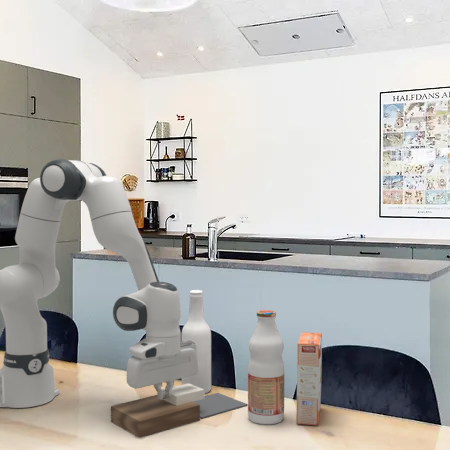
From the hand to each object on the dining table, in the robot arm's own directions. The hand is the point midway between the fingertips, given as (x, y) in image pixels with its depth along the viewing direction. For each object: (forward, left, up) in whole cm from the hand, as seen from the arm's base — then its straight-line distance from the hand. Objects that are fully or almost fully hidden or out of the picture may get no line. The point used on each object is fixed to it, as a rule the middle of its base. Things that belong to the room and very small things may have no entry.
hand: (163, 398), depth 154 cm
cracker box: (+23, +30, -6) cm, 38 cm away
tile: (0, +6, -1) cm, 6 cm away
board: (0, -3, -5) cm, 6 cm away
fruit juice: (+17, +20, -6) cm, 27 cm away
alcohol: (-13, +20, -6) cm, 25 cm away
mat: (0, +15, -5) cm, 16 cm away
